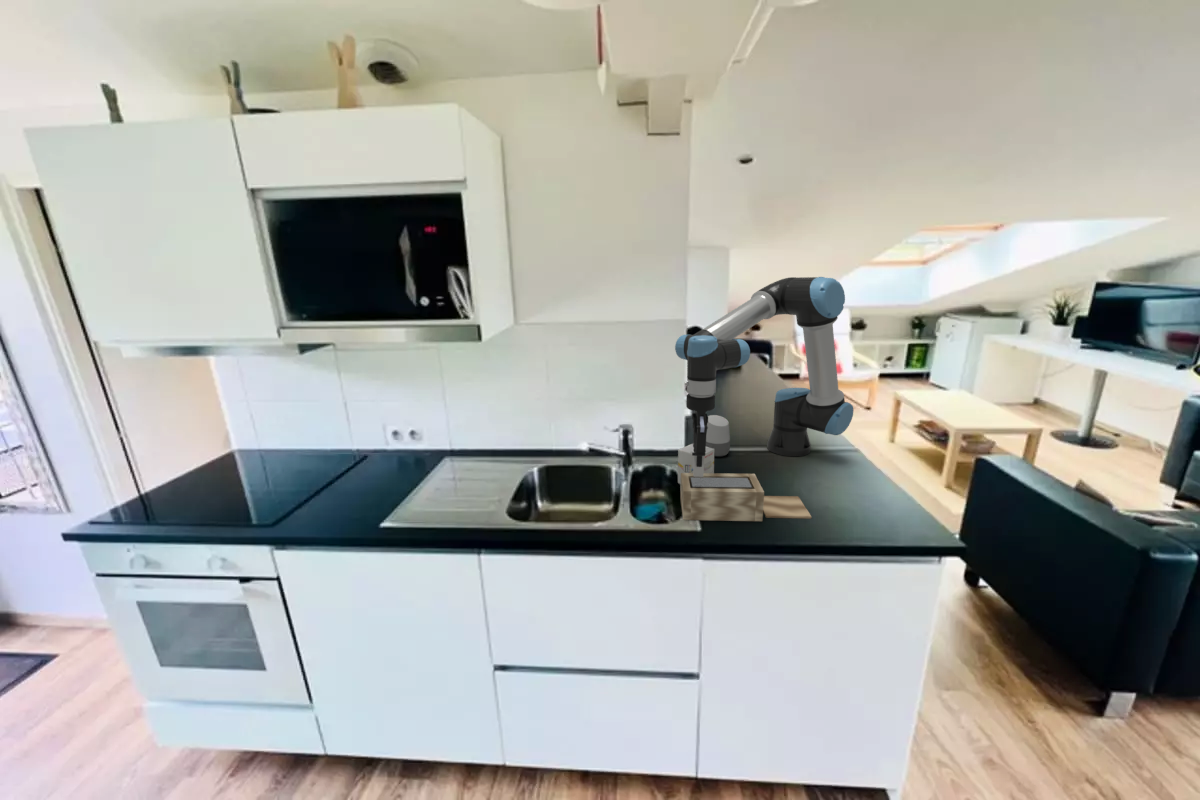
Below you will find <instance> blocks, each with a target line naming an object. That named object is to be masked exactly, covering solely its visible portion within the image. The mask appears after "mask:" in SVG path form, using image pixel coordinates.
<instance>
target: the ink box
mask: <svg viewBox="0 0 1200 800" xmlns="http://www.w3.org/2000/svg"><path fill="white" fill-rule="evenodd" d="M705 450H706V452H705V456H704V473H715V457H714V449H713V448H709V447H706V449H705ZM677 451H678V452H677V454H678V455H677V483H678V484H679V485H681V473H693V460H694V456H692V453H694V448H693V443H691V444H688V445H686V446H684V447H681V448H679V449H678V450H677Z"/></svg>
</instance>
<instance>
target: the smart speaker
mask: <svg viewBox="0 0 1200 800" xmlns="http://www.w3.org/2000/svg"><path fill="white" fill-rule="evenodd" d="M707 416H708V423H707V427H708V429H707V435H706V447H709V448H713V449H714V458H721V457H724V456H727V454H729V452H730V449H731V436H730V435H731V434H730V423H729V421H728V419H726V417H723V416H722V415H717V414H710V415H707Z"/></svg>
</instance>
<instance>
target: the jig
mask: <svg viewBox="0 0 1200 800" xmlns="http://www.w3.org/2000/svg"><path fill="white" fill-rule="evenodd" d="M691 477H694V476H693V473H681V484H680V506H681V514H682V520H683V521H722V522H724V521H726V522H727V521H728V522H729V521H730V522H731V521H732V522H763V518H764V512H763V504H764V496H765V491H764V489H763V487H762V486H761V483H760V480H758V479H759V478H757V475H756V474H755V473H727V472H726V473H725V472H724V473H718V472H717V473H715V472H714V473H704V474H703V477H696V478H748V480H749V482H750V484H751V486H752V489H720V488H691V485H690V483H691Z"/></svg>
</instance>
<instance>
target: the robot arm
mask: <svg viewBox="0 0 1200 800" xmlns="http://www.w3.org/2000/svg"><path fill="white" fill-rule="evenodd" d="M845 304H846V294H845V290H844V288H843V286H842V284H841V283H840V281H838V280H837V279H835V278H833V277H825V276H818V277H817V276H815V277H814V276H813V277H809V276H807V277H785V278H782V279H779V280H776V281H773V282H772V283H770V284H768V285H765V286H764V287H762V288H760V289H759V290H757V291H756V292H754V293H753V294H752V295H751V297H750V299H749V300H747V301H745V302H744V303H742V304H741V305H739V306H738V307H736V308H734V309H733V310H731V311H730V312H728V313H726V314H725V315H723V316H722V317H720V318H718V319H717V320H715V321H714V322H712V323H710V324H709V325H707V326H705V327H703V328H702V329H701V330H699V331H697V332H696V333H694V334H682V335H680V336H678V338H677V340H676V341H675V345H674V351H675V354H676V355H677V357H678V358H679V359H683V360H686V361H687V362H686V367H687V368H686V380H687V381H685V382H684V386H686V393H687V395H686V400H685V406H686V408H687V410H690V411H693V413H691V417H692V418H691V419H692V428H693V430H692V431H693V434H692V435H693V437H692V438H693V439H692V441H693V442H692V444H693V448H694V453H692V456H694V460H693V476H694V477H703V474H704V456H705V452H706V450H705V449H706V435H707V429H708V427H707V423H708V416H709V415H708V413H706V412H711V411H713V410H714V409H715V407H716V396H715V394H716V389H717V371H718V370H719V371H720V370H726V369H730V368H738V367H741V366H743V365H745V364H747V362H748V361H749V360H750V358H751V349H750V346H749V344H748V343H747V342H746V341H745V340H743V339H742V338H739V339H738V338H737V337H738V336H740V335H741V334H743V333H745V332H746V331H748V330H749V329H751V328H752V327H754V326H755V325H757V324H758V323H760V322H761V321H763V320H769V319H771V318H773V317H775V316H778V315H779V316H780V315H791V316H795V317H796V324H797V326H798V327H800V328H802V332H803V339H804V340H803V341H804V350H805V357H806V365H807V367H806V368H807V375H808V385H809V388H806V387H788V388H782V389H778V391H776V393H775V396H774V397H775V398H774V400H773V401H774V408H773V409H774V410H773V427H772V430H771V433H770V434H769V437H768V440H767V443H766V449H767V450H768V451H769V452H771V453H774V454H776V455H780V456H785V457H804V456H806V455H809V454H810V453H811V449H812V448H811V446H812V444H811V440H810V438H809V433H808V429H810V430H814V431H818V432H821V433H823V434H825V435H832V436H840V435H841V434H843V433H844V432H845V431H847V429H848V428H849V426H850V424H851V422H852V419H853V416H854V406H853V404H851V403H850V402H849V401H848V402H847V401H845V394H844V392H843V391H842V390H840V389H839V380H838V369H837V358H836V346H835V336H834V327H833V326H834V325H833V324H835V322H836V321H837V320H838V317H839V316H840V315H841V314H842V312H843V310H844V305H845ZM735 338H737V339H735Z"/></svg>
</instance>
